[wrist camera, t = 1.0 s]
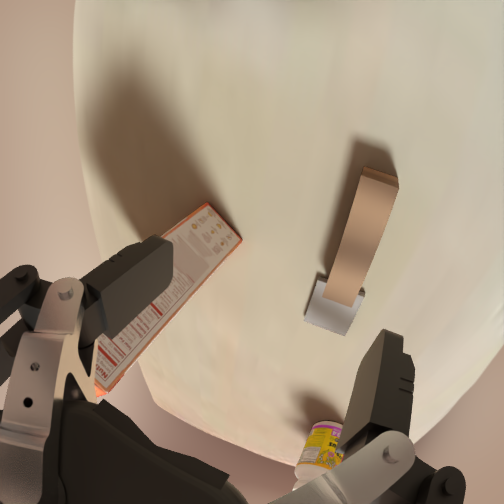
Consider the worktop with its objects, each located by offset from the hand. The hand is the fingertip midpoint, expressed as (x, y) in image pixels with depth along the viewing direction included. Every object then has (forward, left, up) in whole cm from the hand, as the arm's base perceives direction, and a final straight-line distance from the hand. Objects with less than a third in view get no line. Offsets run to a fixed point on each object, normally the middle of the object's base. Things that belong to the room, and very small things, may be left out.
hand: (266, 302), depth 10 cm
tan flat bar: (+8, +3, -18) cm, 20 cm away
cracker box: (+14, -14, -18) cm, 26 cm away
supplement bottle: (+40, +12, -18) cm, 45 cm away
